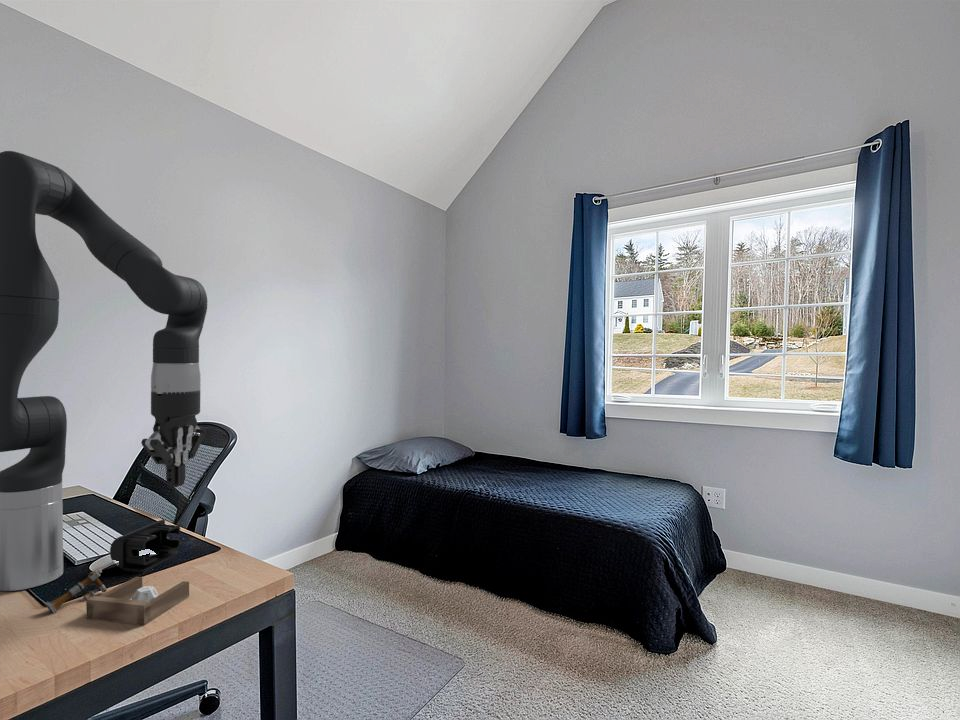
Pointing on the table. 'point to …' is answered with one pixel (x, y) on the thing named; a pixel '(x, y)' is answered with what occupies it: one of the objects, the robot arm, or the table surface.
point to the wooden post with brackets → (77, 588)
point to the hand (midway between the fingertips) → (175, 485)
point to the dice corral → (133, 603)
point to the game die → (145, 594)
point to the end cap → (145, 547)
